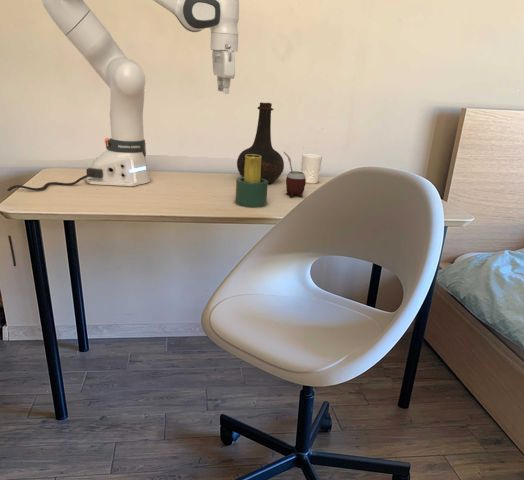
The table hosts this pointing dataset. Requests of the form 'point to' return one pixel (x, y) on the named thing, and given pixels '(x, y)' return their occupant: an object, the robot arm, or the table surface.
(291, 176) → the mate gourd
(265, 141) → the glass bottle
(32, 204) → the table surface
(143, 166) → the robot arm
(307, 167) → the white cup
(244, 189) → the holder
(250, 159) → the vase
